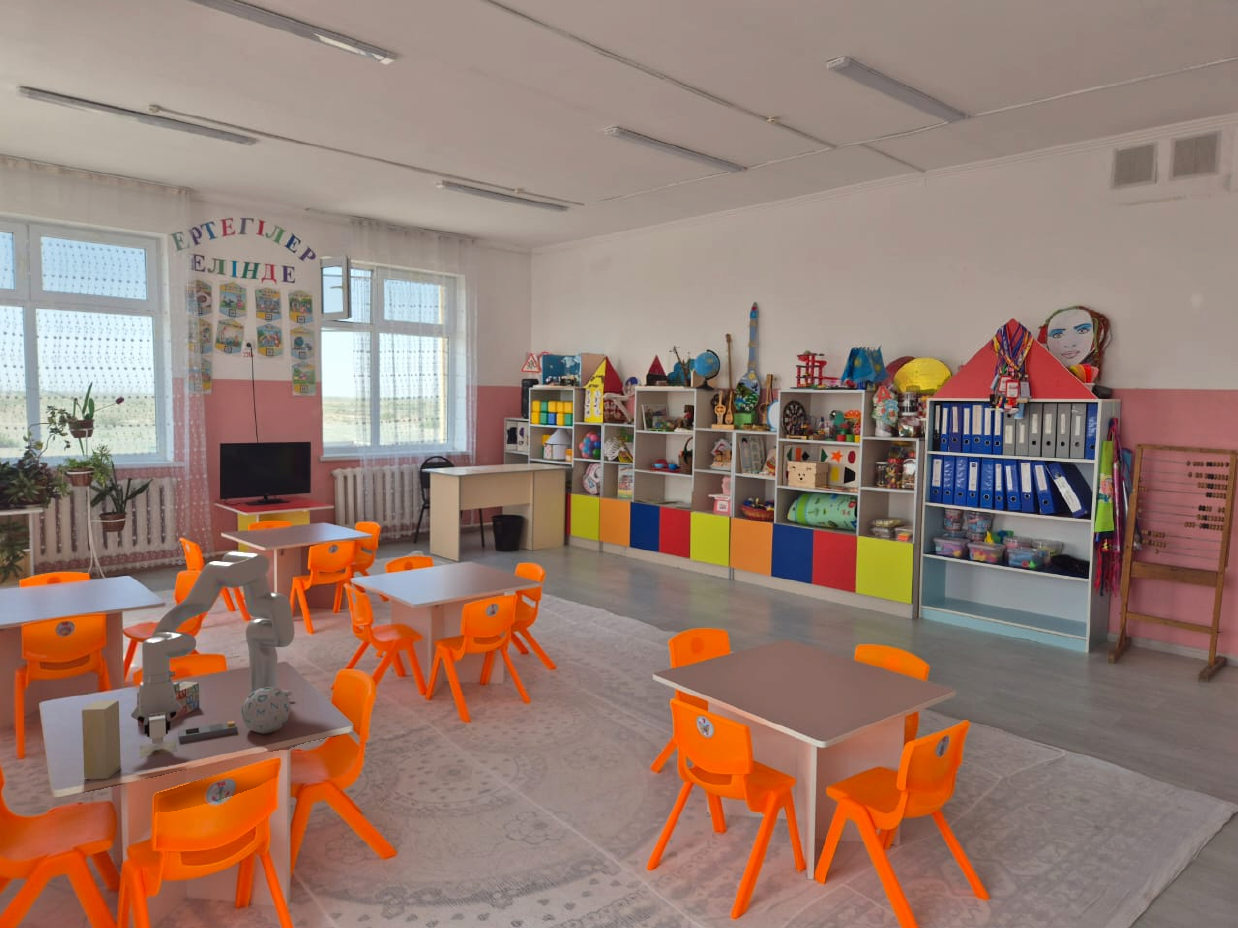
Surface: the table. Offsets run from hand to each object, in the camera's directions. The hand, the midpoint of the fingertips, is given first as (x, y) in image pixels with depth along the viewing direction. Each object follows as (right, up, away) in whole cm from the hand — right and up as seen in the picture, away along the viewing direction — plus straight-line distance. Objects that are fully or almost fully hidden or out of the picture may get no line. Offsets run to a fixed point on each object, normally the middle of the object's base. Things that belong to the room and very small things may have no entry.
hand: (157, 733), depth 261 cm
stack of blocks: (-12, -4, +30) cm, 33 cm away
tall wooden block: (-8, -7, -16) cm, 19 cm away
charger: (0, -2, 0) cm, 2 cm away
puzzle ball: (+27, -5, +18) cm, 33 cm away
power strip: (+10, -5, +12) cm, 17 cm away
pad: (0, -6, 0) cm, 6 cm away
